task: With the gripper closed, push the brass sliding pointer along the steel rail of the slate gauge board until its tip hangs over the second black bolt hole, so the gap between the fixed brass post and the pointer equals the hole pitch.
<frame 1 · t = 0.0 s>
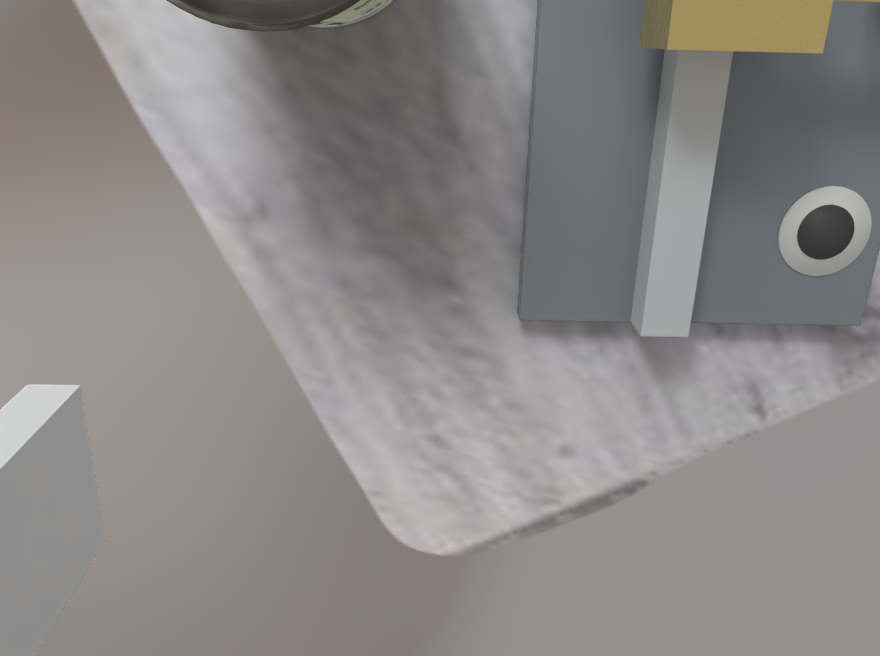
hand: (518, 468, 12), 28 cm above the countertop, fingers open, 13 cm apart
gauge board: (722, 58, 36), on the countertop
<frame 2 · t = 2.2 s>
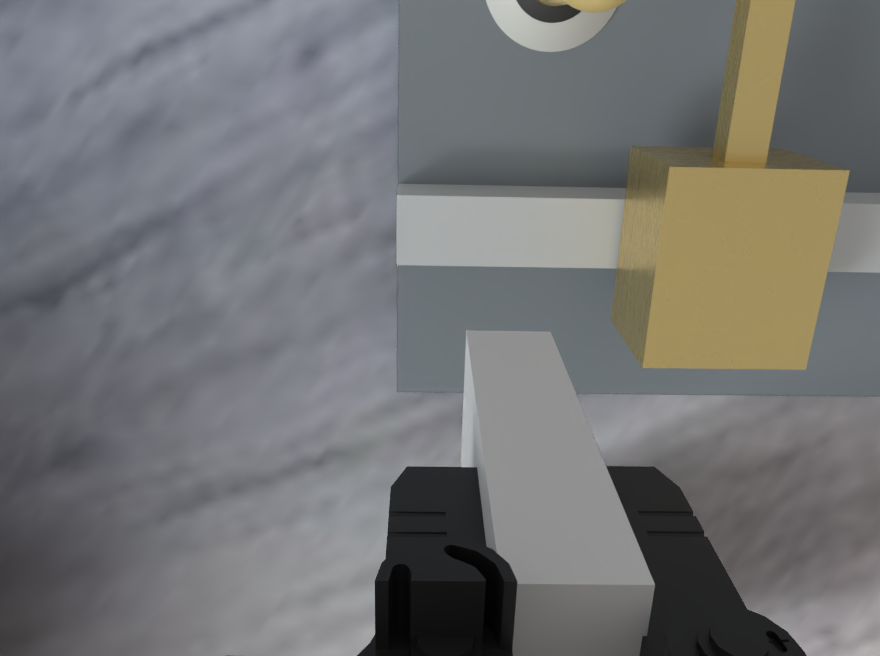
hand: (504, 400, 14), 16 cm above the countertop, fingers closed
gauge board: (749, 162, 28), on the countertop
pointer: (723, 144, 23), point 5 cm above the countertop, slide at 0.0 cm
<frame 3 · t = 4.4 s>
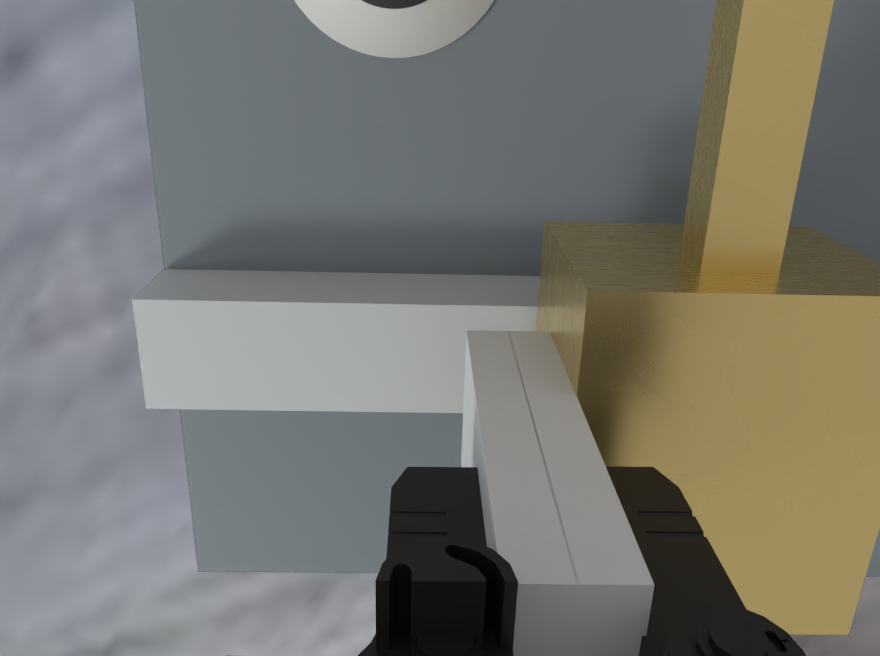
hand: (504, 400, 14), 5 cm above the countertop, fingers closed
gauge board: (734, 231, 18), on the countertop
pointer: (702, 227, 13), point 5 cm above the countertop, slide at 0.4 cm, touching gripper
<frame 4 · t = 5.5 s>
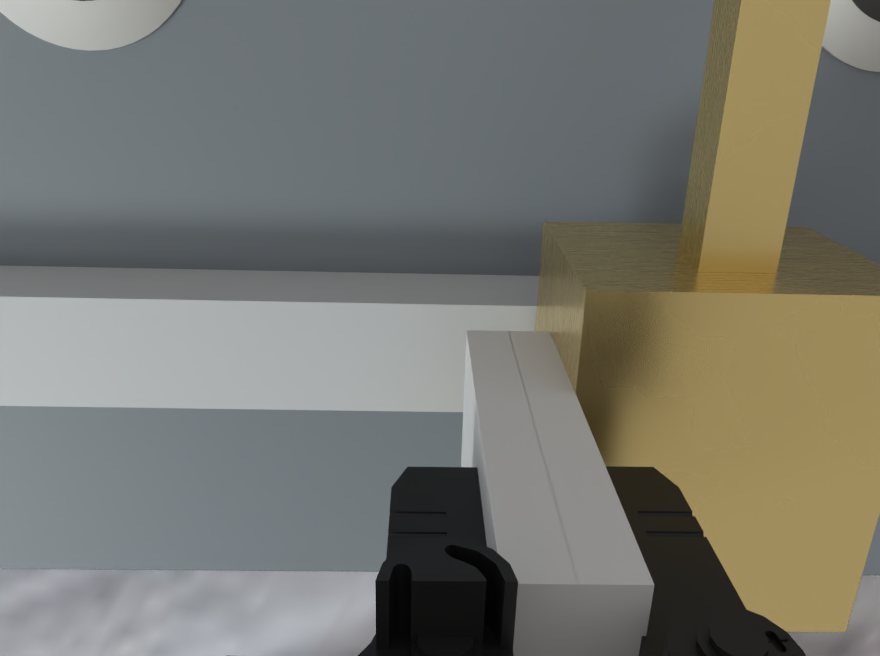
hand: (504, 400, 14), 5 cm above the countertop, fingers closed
gauge board: (480, 226, 18), on the countertop
pointer: (700, 227, 13), point 5 cm above the countertop, slide at 6.4 cm, touching gripper
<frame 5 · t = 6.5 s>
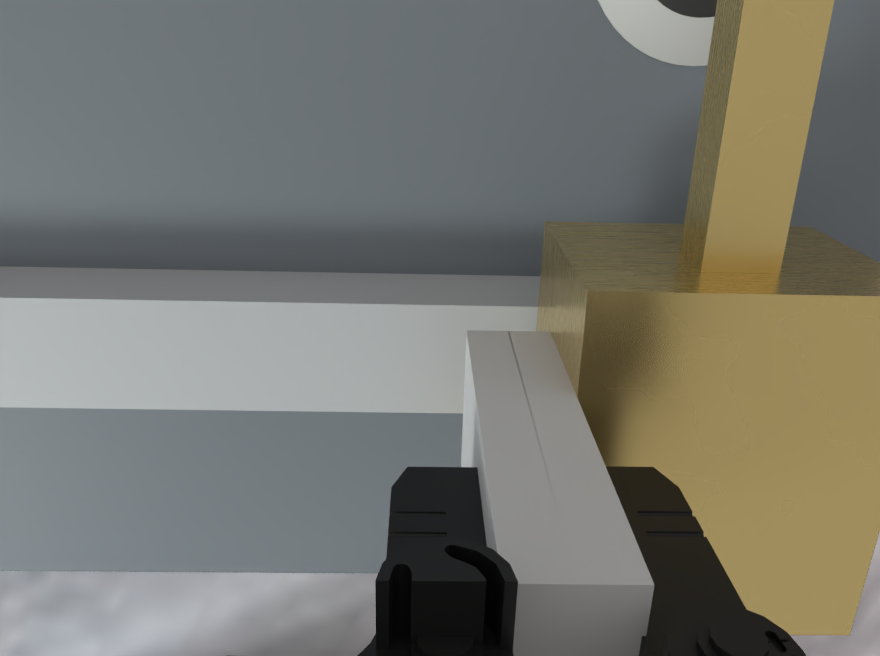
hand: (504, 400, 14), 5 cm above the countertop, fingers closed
gauge board: (307, 223, 18), on the countertop
pointer: (703, 227, 13), point 5 cm above the countertop, slide at 10.4 cm, touching gripper
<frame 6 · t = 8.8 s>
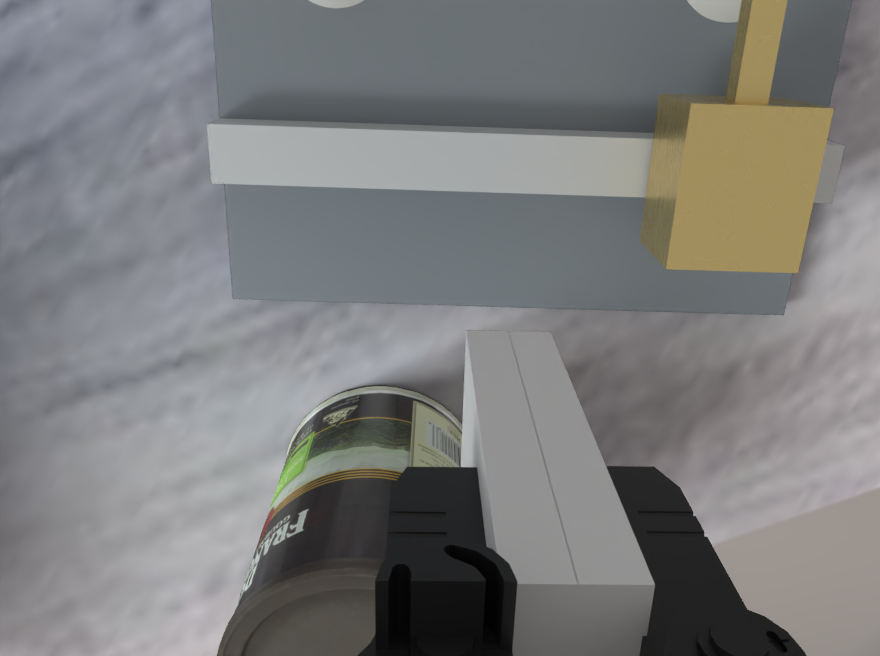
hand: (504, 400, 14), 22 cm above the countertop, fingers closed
gauge board: (521, 106, 33), on the countertop
coffee can: (383, 469, 41), on the countertop
pointer: (734, 91, 29), point 5 cm above the countertop, slide at 10.5 cm
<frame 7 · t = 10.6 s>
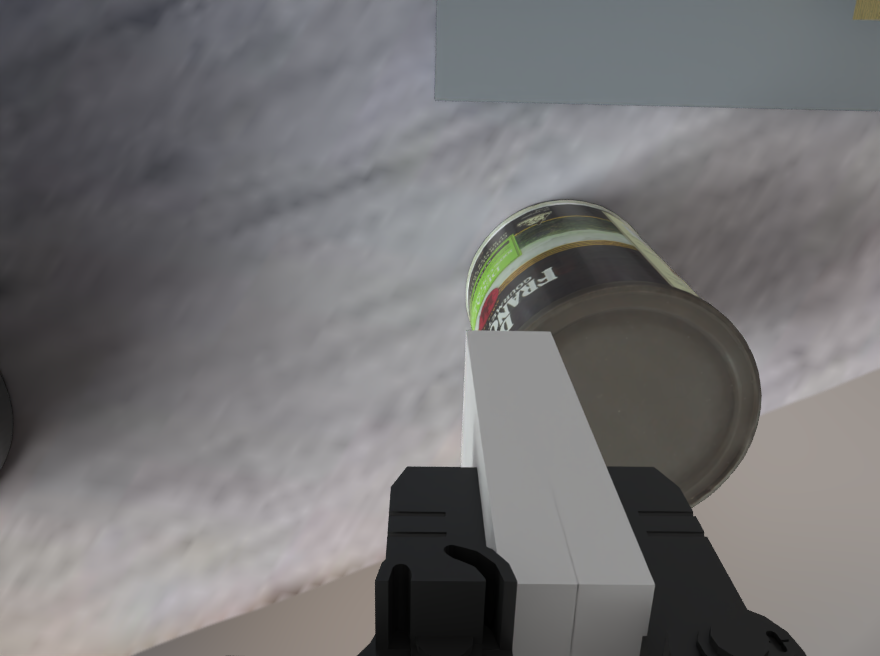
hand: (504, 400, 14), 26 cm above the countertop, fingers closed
coffee can: (559, 292, 41), on the countertop
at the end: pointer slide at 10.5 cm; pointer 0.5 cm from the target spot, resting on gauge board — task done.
